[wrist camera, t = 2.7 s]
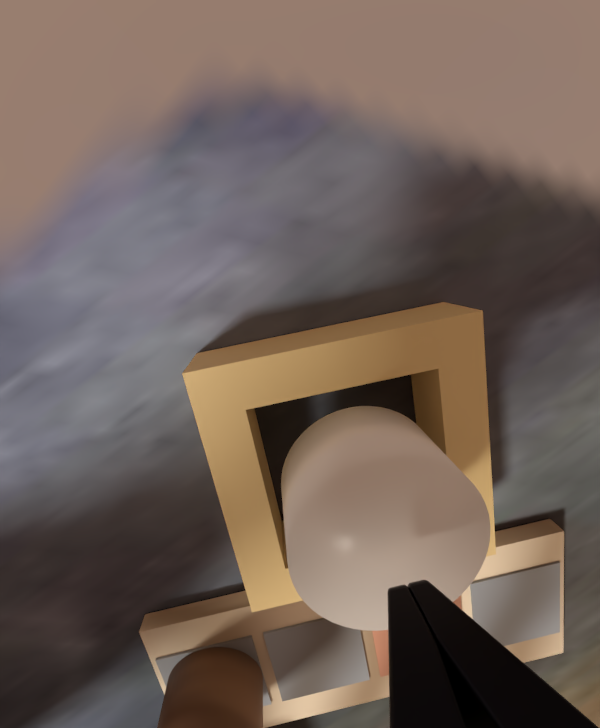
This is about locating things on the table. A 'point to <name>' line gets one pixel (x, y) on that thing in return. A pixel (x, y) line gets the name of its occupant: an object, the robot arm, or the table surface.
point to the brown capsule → (214, 691)
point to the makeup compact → (366, 648)
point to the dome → (376, 515)
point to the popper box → (326, 374)
